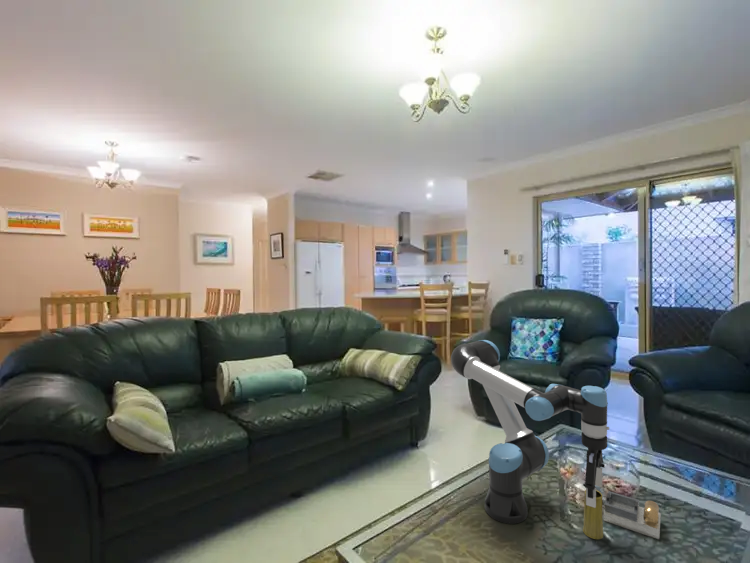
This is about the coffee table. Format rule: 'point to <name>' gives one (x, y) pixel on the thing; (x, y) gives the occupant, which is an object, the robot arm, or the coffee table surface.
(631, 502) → the white holder stand
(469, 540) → the coffee table surface
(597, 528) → the vase
